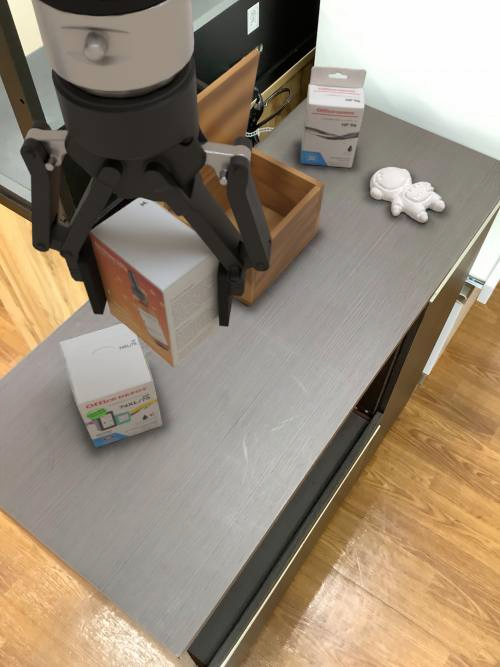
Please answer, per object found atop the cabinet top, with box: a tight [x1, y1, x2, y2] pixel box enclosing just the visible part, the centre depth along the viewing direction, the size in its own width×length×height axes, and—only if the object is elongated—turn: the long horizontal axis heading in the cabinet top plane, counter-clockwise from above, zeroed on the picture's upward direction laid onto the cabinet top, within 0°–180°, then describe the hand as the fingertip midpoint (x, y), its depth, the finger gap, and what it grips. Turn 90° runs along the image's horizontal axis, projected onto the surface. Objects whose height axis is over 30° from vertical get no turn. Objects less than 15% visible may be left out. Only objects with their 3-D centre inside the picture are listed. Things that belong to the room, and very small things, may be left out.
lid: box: [163, 48, 261, 211], centre depth 79 cm, size 15×17×9 cm
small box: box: [88, 198, 221, 368], centre depth 49 cm, size 8×6×10 cm
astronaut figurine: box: [369, 166, 446, 224], centre depth 96 cm, size 9×12×3 cm
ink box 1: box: [58, 322, 163, 449], centre depth 72 cm, size 8×8×12 cm
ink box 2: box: [300, 65, 367, 169], centre depth 96 cm, size 8×5×15 cm, turn 86°
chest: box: [167, 146, 326, 308], centre depth 87 cm, size 14×17×10 cm
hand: (163, 306), depth 51 cm, fingers closed on small box, 9 cm apart
